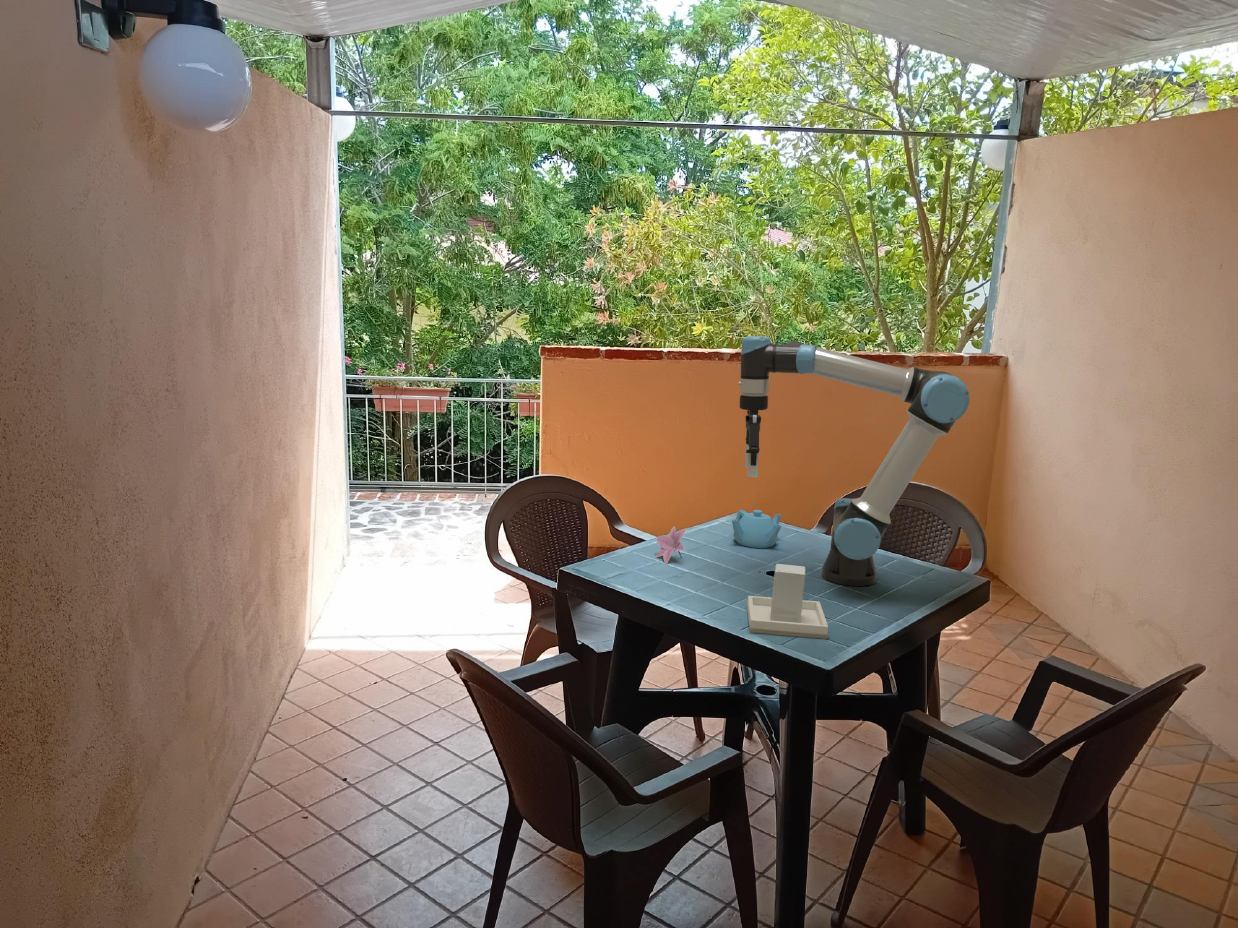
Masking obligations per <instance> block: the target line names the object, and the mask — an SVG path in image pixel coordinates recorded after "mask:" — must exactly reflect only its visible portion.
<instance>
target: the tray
mask: <svg viewBox="0 0 1238 928" xmlns="http://www.w3.org/2000/svg"><path fill="white" fill-rule="evenodd" d="M746 603H747V604H746V610H747V611H746V612H747V620H748V629H749V633H753V634H755V633H756V634H763V635H764V634H765V635H777V636H787V637H788V636H789V637H800V638H810V639H811V638H812V639H813V638H814V639H823V640H824V639H825V640H827V639H828V632H829V626H828V622H827V620H826V616H825V614H824V611H823V607H822V605H821V602H820V601H816V600H804V599H803V602H802V611H801V620H800V623H794V622H782V621H771V620H770V615H771V604H772V596H771V597H769V596H758V595H757V596H756V595H747V601H746Z"/></svg>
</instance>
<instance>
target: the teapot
mask: <svg viewBox="0 0 1238 928" xmlns="http://www.w3.org/2000/svg"><path fill="white" fill-rule="evenodd" d="M752 511H753V512H747V511H745V510H744V509H739V510H738V511H737V514H736V518H735V519H732V520H731V523H732V524H731V525H732V530H733V538H734V540H735V542H736V543H737V544H738V543H739V544H738V545H741V546H743V547H746V546H747V547H746V548H752V549H768V548H771V547H773V546H775V544H777V542H778V540H779V539H778V537H779V536H778V534H779V532H780V531H781V528H782V525H780V520H781V517H782V515H781V514H779V513H777V514H776V513H775V514H774V516H773V517H771V516H770V515H768V514H765V513H763V511H762V510H761V509H754V510H752Z"/></svg>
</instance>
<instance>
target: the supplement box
mask: <svg viewBox="0 0 1238 928" xmlns="http://www.w3.org/2000/svg"><path fill="white" fill-rule="evenodd" d="M805 583H806V566H804V565H794V564H782V563H775V568H774V575H773V584H772V596H771V598H772V604H771V615H770V620H771V621H782V622H794V623H800V620H801V611H802V602H803V600H804V590H805Z"/></svg>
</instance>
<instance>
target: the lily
mask: <svg viewBox="0 0 1238 928" xmlns="http://www.w3.org/2000/svg"><path fill="white" fill-rule="evenodd" d="M687 530H688V528H683V529H679V530H678V531H677V530H676V526H675V525H673V527H672V528H671V529H670V532H669V534H668V535H667V534H666V535H665V534H662V535H658V536H657V537H655V541H656V543H657V545H658V546H659V547H660V549H659V550H658V552H657V553H656V554H655V558H659V557H662V556H663V562H664V564H665V565H667V564H668V563H669V561H670V558H671V556H672V555H673V553H674V552H678V554H679V556H680V558H683V557H682V554H681V552H682V551H684V550H685V548H684V545H682V543H681V542H680V541H681V539H682V537H683V536H684V535H685V533H686V532H687Z"/></svg>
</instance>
